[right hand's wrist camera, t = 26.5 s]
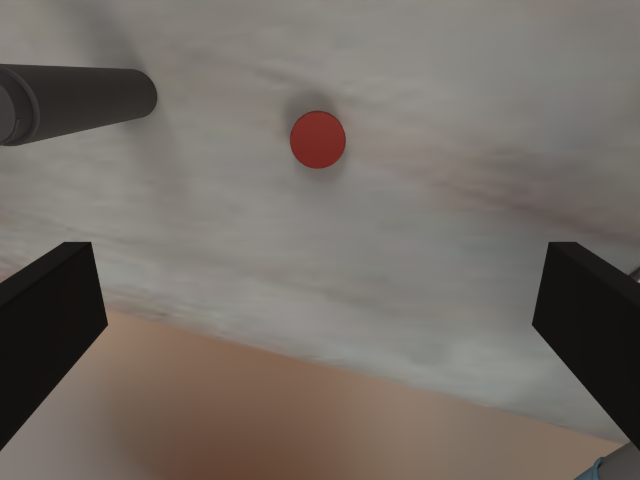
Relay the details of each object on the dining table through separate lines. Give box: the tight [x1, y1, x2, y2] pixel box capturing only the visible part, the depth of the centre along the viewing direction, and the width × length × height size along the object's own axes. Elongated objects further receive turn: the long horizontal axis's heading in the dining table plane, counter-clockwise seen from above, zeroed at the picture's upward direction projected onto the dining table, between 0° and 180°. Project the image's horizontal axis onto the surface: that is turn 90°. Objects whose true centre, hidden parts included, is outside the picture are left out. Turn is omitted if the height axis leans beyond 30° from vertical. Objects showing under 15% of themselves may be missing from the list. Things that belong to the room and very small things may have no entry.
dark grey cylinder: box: [0, 64, 157, 146], centre depth 30 cm, size 4×4×19 cm
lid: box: [290, 111, 345, 169], centre depth 39 cm, size 5×5×2 cm
